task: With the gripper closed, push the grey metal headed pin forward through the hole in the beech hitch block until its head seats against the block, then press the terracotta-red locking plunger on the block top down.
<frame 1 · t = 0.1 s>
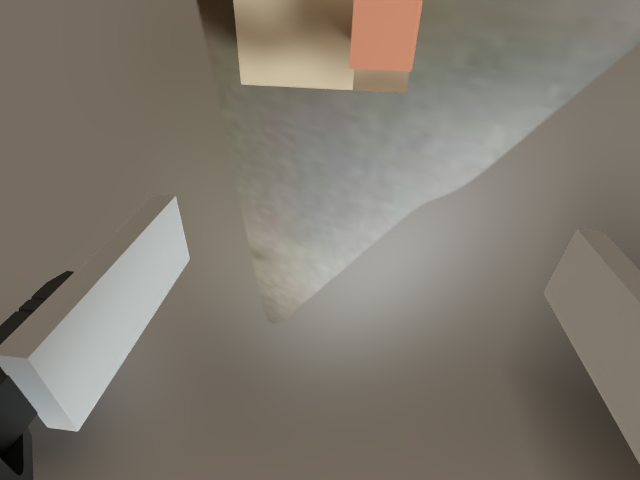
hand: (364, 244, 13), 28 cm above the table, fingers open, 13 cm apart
plunger: (382, 27, 23), point 11 cm above the table, slide at 0.0 cm
hitch block: (335, 13, 33), on the table
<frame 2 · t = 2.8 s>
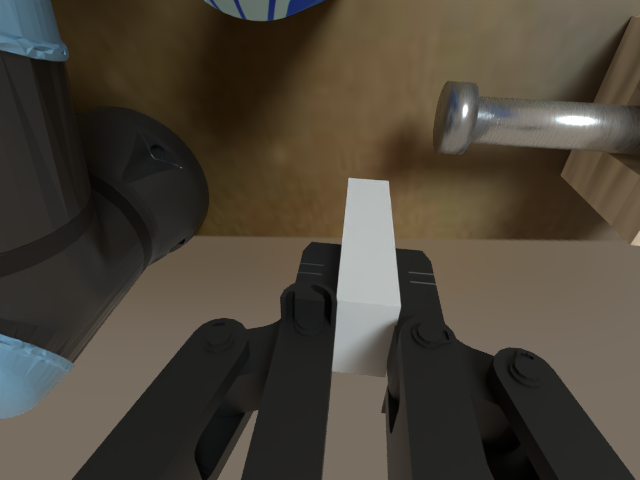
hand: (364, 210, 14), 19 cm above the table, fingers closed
pin: (561, 125, 24), point 6 cm above the table, slide at 0.0 cm
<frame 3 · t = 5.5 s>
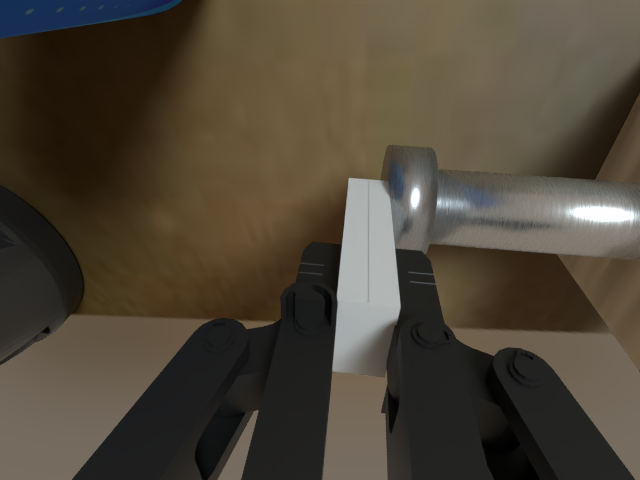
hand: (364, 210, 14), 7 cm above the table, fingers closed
pin: (582, 217, 14), point 6 cm above the table, slide at 0.9 cm, touching gripper
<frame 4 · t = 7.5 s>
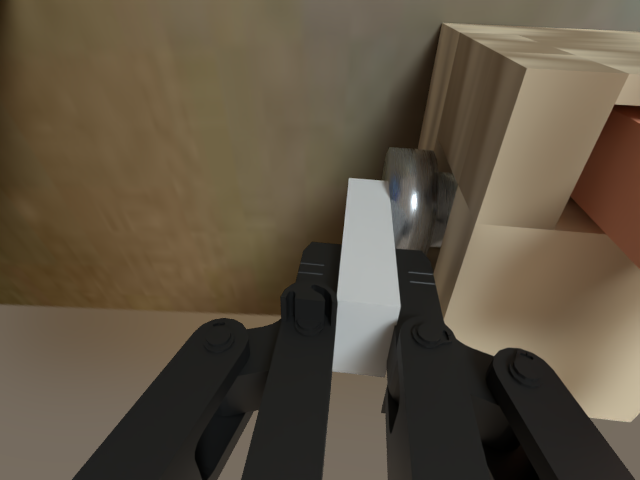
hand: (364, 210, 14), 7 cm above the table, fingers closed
pin: (584, 221, 14), point 6 cm above the table, slide at 10.6 cm, touching gripper
hitch block: (493, 158, 19), on the table
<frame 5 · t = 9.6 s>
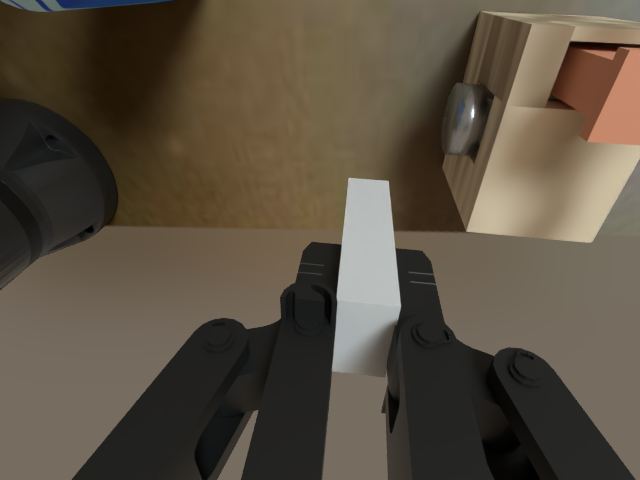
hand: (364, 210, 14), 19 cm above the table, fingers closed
plunger: (604, 81, 18), point 11 cm above the table, slide at 0.0 cm
pin: (570, 127, 24), point 6 cm above the table, slide at 10.9 cm
hitch block: (509, 101, 29), on the table
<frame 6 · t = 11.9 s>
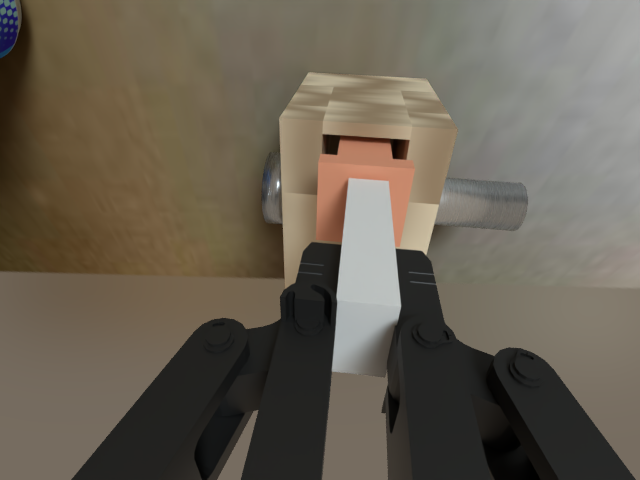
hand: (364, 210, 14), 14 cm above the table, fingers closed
plunger: (362, 167, 18), point 10 cm above the table, slide at 0.8 cm, touching gripper
pin: (390, 197, 23), point 6 cm above the table, slide at 10.9 cm
hitch block: (358, 158, 28), on the table
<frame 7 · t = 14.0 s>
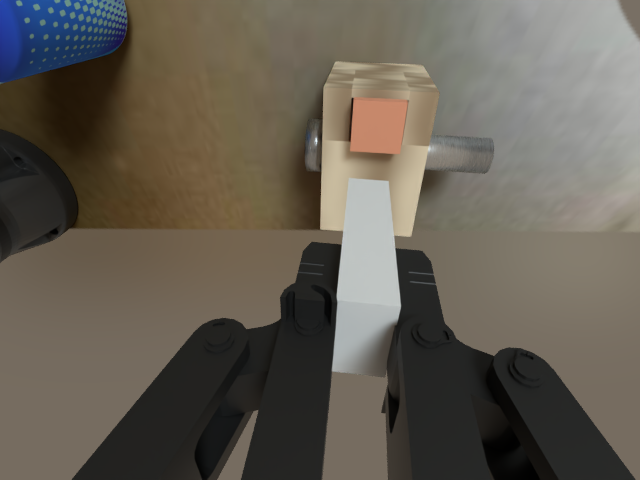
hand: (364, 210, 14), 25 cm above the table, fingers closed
plunger: (376, 112, 29), point 8 cm above the table, slide at 3.1 cm
pin: (396, 150, 32), point 6 cm above the table, slide at 10.9 cm
hitch block: (372, 127, 37), on the table
beer can: (91, 3, 34), on the table
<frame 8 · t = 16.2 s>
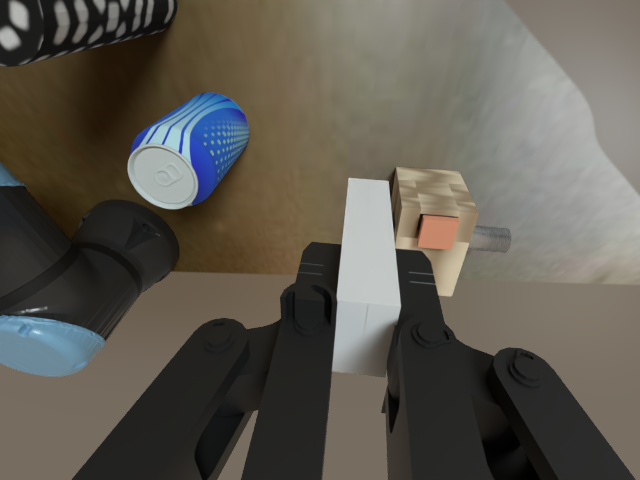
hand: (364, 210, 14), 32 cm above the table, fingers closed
plunger: (432, 215, 42), point 8 cm above the table, slide at 3.1 cm
pin: (441, 234, 45), point 6 cm above the table, slide at 10.9 cm
hitch block: (418, 209, 51), on the table
beer can: (220, 123, 47), on the table
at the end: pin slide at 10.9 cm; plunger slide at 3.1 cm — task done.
